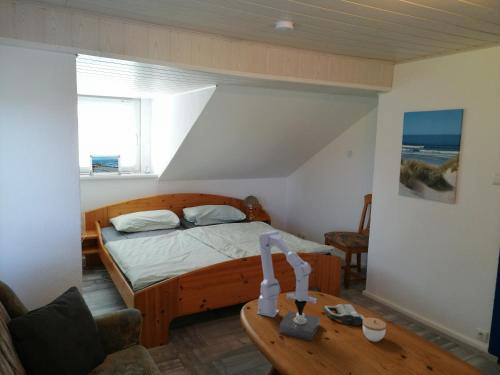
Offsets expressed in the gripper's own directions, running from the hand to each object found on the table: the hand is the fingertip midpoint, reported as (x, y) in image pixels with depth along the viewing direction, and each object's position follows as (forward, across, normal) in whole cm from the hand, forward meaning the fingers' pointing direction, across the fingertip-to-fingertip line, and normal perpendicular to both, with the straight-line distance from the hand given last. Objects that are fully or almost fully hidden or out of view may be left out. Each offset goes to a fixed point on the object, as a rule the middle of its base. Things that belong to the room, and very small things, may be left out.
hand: (300, 314), depth 185 cm
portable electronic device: (+8, +18, +22) cm, 29 cm away
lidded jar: (+8, +34, +7) cm, 35 cm away
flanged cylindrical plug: (+6, 0, 0) cm, 6 cm away
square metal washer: (+8, 0, 0) cm, 8 cm away
